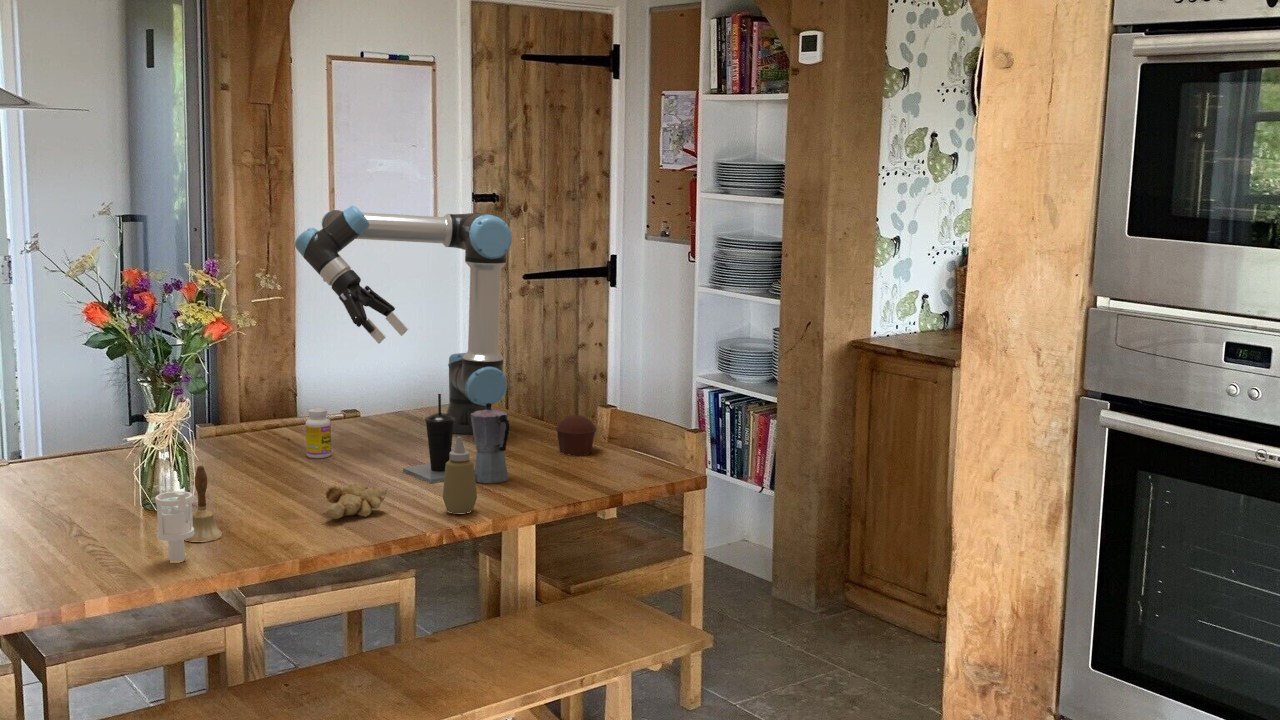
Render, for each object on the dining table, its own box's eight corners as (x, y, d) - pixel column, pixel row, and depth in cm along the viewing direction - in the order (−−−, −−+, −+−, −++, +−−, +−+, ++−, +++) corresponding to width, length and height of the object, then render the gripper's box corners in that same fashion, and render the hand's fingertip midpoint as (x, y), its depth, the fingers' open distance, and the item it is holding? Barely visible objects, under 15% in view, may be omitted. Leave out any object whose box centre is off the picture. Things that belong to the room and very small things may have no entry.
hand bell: (230, 532, 276) (226, 462, 273) (211, 544, 268) (207, 472, 265) (195, 530, 277) (191, 460, 274) (175, 542, 269) (171, 470, 266)
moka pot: (489, 471, 329) (488, 396, 325) (526, 483, 318) (526, 406, 314) (459, 477, 322) (458, 401, 319) (496, 490, 311) (496, 411, 308)
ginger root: (375, 493, 302) (375, 464, 299) (393, 526, 290) (394, 496, 286) (310, 503, 295) (309, 473, 292) (326, 538, 283) (325, 507, 279)
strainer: (169, 569, 252) (165, 497, 249) (152, 561, 257) (148, 490, 254) (202, 561, 257) (198, 490, 255) (184, 553, 262) (181, 483, 259)
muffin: (599, 455, 346) (600, 420, 344) (560, 457, 344) (560, 422, 342) (590, 445, 358) (591, 411, 356) (552, 447, 355) (552, 412, 353)
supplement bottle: (322, 460, 337) (321, 413, 335) (301, 457, 339) (299, 411, 337) (336, 454, 344) (335, 408, 341) (315, 452, 346) (314, 406, 343)
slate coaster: (449, 463, 336) (449, 459, 336) (477, 474, 325) (477, 470, 325) (403, 471, 327) (402, 468, 327) (430, 483, 316) (430, 479, 316)
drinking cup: (458, 466, 329) (457, 391, 326) (451, 473, 322) (450, 397, 318) (430, 464, 330) (429, 390, 327) (422, 472, 323) (420, 396, 319)
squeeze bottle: (446, 506, 297) (445, 432, 294) (479, 507, 297) (479, 433, 294) (439, 516, 289) (438, 440, 286) (474, 517, 289) (473, 441, 286)
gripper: (354, 282, 348) (405, 338, 347) (308, 292, 324) (363, 353, 323) (371, 263, 346) (422, 320, 345) (326, 273, 322) (381, 333, 321)
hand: (394, 336), depth 334 cm, fingers open, 13 cm apart
